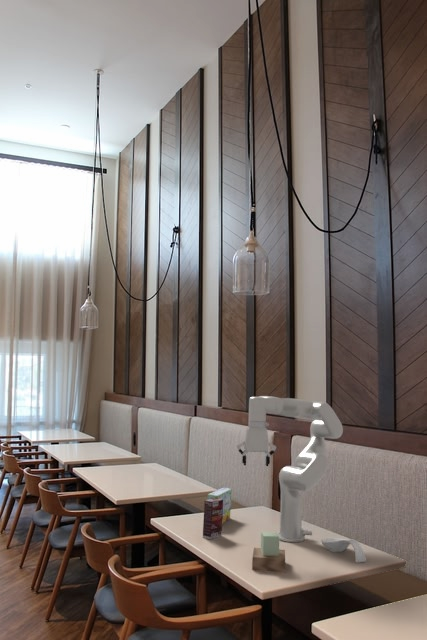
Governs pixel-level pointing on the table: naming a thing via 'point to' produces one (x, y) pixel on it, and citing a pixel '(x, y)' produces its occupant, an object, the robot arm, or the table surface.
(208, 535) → the supplement box
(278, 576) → the table surface
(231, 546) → the table surface
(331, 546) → the spoon rest
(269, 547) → the sage block
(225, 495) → the snack box
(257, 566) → the walnut slab
